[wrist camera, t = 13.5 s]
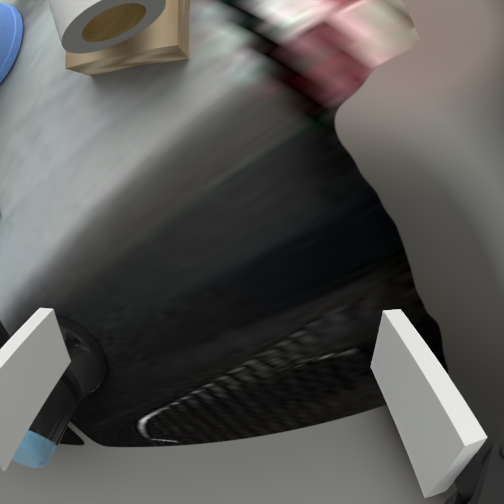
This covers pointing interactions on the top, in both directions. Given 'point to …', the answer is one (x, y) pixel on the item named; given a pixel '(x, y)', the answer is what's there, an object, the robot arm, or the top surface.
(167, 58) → the oak brick
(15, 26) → the water jug
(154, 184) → the top surface
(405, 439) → the robot arm
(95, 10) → the toilet paper
